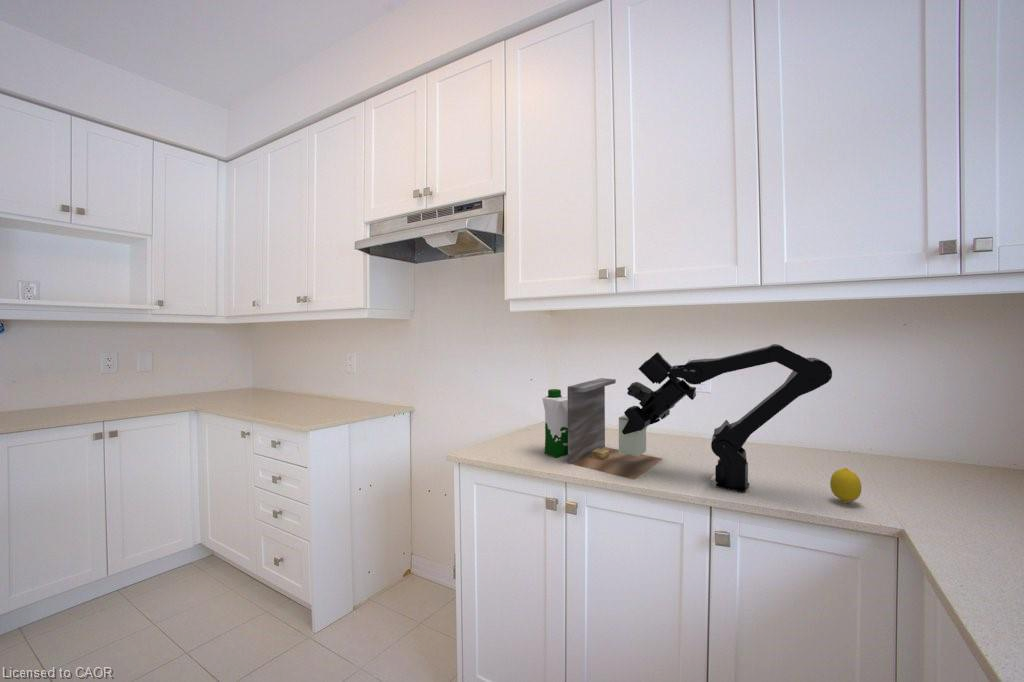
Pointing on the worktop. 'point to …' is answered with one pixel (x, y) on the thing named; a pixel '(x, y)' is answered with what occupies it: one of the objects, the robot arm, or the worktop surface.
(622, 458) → the dock
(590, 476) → the worktop surface
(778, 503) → the worktop surface
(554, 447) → the milk carton
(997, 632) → the worktop surface
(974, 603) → the worktop surface
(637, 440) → the pale green lidded box
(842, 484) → the lemon
